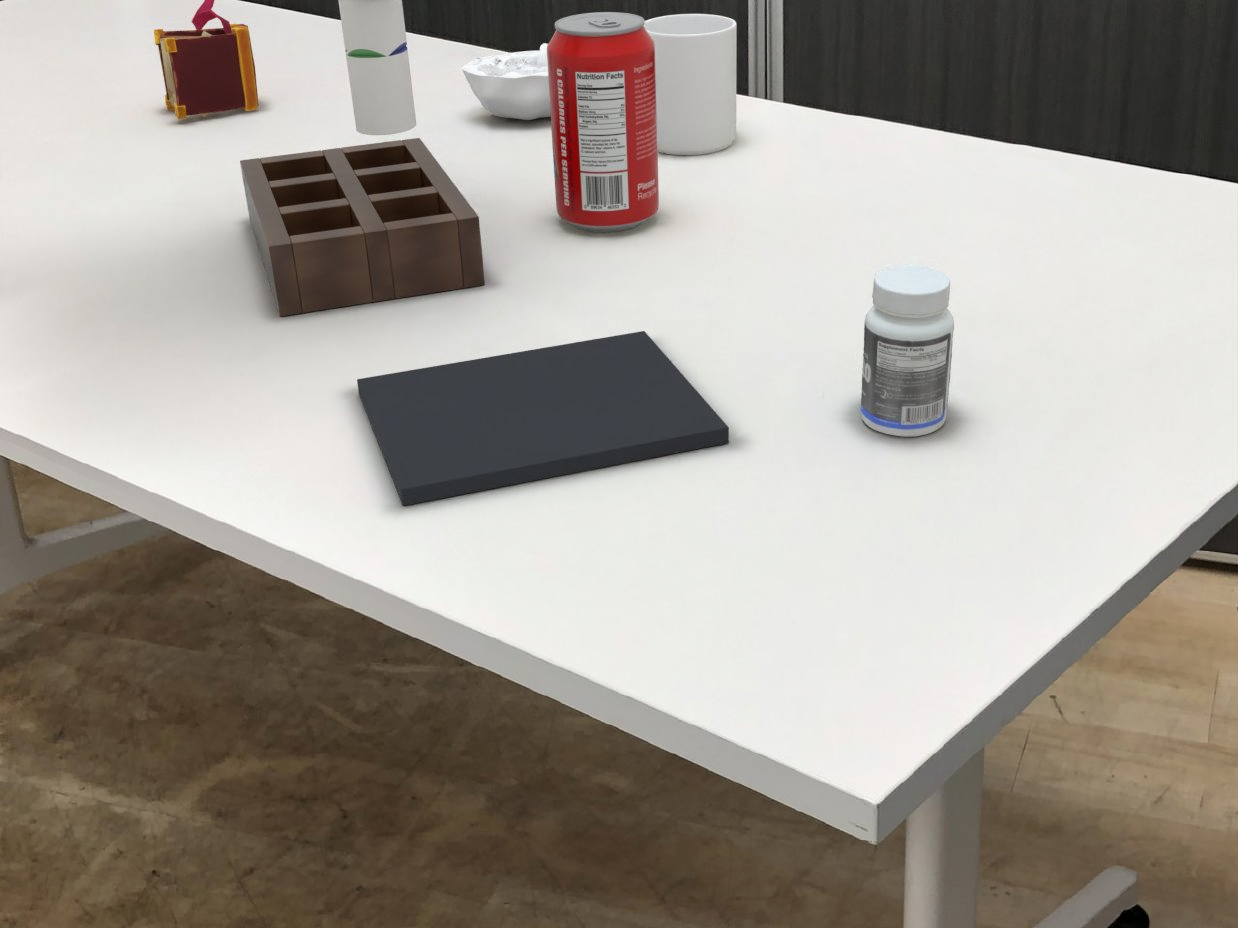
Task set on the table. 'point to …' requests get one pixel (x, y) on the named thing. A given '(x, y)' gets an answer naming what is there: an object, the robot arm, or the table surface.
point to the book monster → (207, 67)
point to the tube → (378, 66)
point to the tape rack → (360, 226)
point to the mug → (694, 82)
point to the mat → (534, 416)
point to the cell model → (512, 83)
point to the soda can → (603, 121)
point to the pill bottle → (907, 351)
